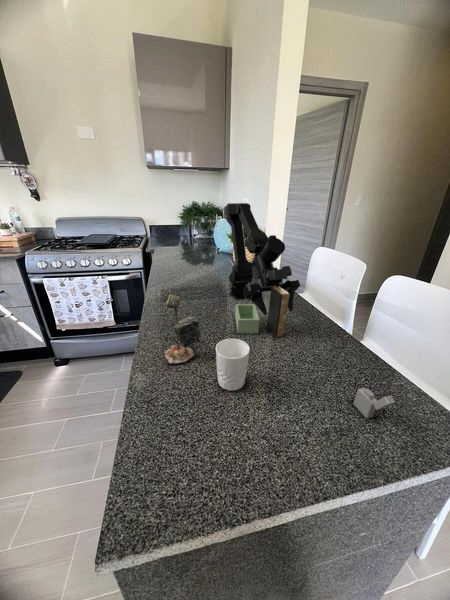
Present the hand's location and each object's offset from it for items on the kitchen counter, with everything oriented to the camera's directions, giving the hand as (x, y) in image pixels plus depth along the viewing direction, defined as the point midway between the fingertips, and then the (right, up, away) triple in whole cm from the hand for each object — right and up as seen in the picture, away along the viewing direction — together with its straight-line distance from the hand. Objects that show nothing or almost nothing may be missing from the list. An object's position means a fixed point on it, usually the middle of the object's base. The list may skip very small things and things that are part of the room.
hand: (278, 312), depth 80 cm
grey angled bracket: (+14, -21, -26) cm, 36 cm away
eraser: (0, -7, +4) cm, 8 cm away
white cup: (-16, -16, -17) cm, 28 cm away
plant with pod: (-29, -12, -8) cm, 32 cm away
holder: (-10, -4, +8) cm, 13 cm away
